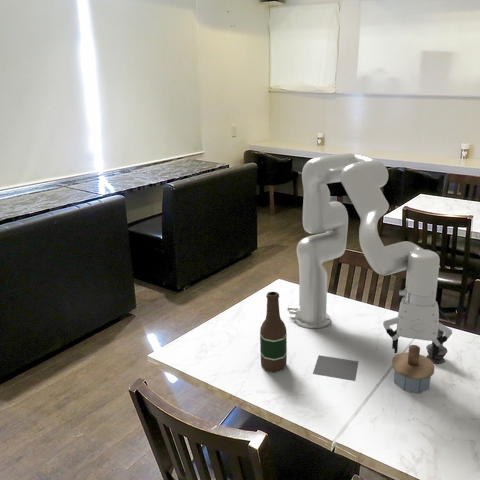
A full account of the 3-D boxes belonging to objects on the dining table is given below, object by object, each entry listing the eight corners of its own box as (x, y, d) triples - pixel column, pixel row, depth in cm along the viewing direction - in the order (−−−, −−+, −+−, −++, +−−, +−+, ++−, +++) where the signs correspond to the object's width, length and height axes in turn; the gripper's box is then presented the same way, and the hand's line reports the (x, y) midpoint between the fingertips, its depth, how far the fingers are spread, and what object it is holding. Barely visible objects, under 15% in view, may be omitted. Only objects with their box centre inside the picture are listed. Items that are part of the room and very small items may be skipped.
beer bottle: (272, 355, 143) (271, 285, 135) (292, 365, 137) (292, 292, 130) (255, 366, 138) (253, 293, 130) (274, 376, 132) (273, 302, 125)
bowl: (393, 389, 125) (395, 373, 123) (394, 370, 133) (395, 355, 132) (429, 395, 122) (431, 379, 121) (428, 375, 130) (430, 360, 129)
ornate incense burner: (440, 353, 141) (445, 318, 137) (449, 364, 135) (454, 328, 131) (421, 354, 141) (425, 319, 137) (430, 365, 135) (434, 329, 131)
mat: (312, 374, 133) (312, 373, 133) (318, 356, 142) (318, 355, 142) (354, 381, 129) (355, 380, 129) (358, 362, 138) (358, 361, 138)
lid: (391, 375, 123) (392, 355, 121) (392, 353, 133) (393, 334, 131) (435, 382, 119) (437, 361, 117) (433, 359, 129) (435, 340, 127)
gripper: (384, 299, 119) (380, 356, 124) (457, 307, 113) (449, 366, 119) (385, 287, 125) (381, 342, 131) (454, 294, 120) (447, 351, 125)
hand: (414, 353), depth 125 cm, fingers open, 9 cm apart
